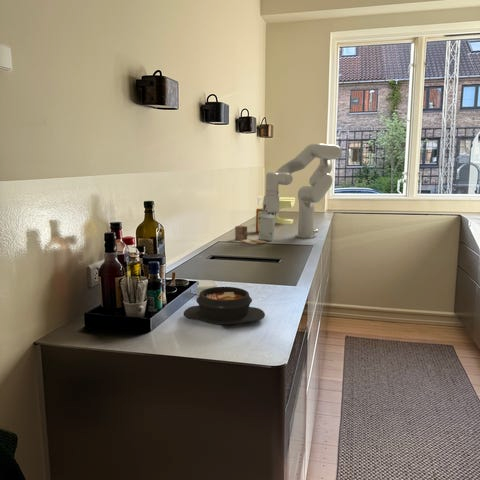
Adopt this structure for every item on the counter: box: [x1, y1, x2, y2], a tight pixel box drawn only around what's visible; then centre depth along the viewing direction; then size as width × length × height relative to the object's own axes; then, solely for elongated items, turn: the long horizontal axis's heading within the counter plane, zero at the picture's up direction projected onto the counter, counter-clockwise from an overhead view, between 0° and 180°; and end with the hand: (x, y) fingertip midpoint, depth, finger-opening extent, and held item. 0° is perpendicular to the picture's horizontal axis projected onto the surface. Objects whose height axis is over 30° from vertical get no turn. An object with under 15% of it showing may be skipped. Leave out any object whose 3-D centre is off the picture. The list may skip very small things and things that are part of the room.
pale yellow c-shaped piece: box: [275, 196, 296, 225], centre depth 352 cm, size 30×16×18 cm, turn 167°
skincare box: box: [258, 213, 276, 242], centre depth 275 cm, size 8×6×15 cm
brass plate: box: [238, 238, 269, 245], centre depth 272 cm, size 12×12×1 cm
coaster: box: [196, 279, 218, 296], centre depth 170 cm, size 10×10×4 cm
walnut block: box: [234, 225, 248, 241], centre depth 277 cm, size 5×5×8 cm
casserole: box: [182, 286, 266, 326], centre depth 142 cm, size 25×19×8 cm
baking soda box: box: [255, 207, 264, 234], centre depth 304 cm, size 10×6×16 cm
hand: (270, 223), depth 278 cm, fingers closed
